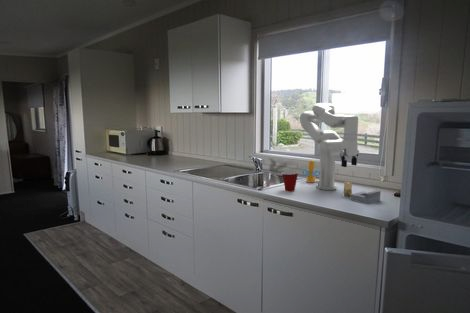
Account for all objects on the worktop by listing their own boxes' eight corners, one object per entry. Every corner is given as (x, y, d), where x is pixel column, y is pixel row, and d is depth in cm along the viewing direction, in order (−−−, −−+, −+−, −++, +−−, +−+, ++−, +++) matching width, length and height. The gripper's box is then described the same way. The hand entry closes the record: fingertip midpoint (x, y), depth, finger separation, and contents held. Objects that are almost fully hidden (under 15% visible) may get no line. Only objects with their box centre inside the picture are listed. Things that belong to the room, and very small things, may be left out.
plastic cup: (288, 187, 214) (288, 169, 213) (301, 190, 206) (302, 172, 205) (277, 190, 207) (277, 171, 205) (291, 193, 199) (291, 174, 198)
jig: (350, 199, 185) (350, 190, 184) (362, 196, 192) (362, 187, 191) (368, 203, 176) (368, 194, 176) (380, 200, 183) (380, 191, 183)
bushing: (342, 195, 194) (342, 182, 193) (346, 194, 196) (347, 181, 195) (348, 197, 190) (349, 183, 189) (352, 196, 193) (353, 182, 192)
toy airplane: (301, 182, 231) (301, 161, 229) (303, 179, 240) (303, 159, 239) (318, 183, 227) (319, 162, 225) (320, 180, 236) (321, 160, 234)
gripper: (353, 135, 197) (352, 163, 199) (335, 137, 187) (334, 166, 189) (364, 136, 191) (363, 165, 193) (347, 138, 181) (345, 168, 183)
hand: (349, 165), depth 191 cm, fingers open, 9 cm apart
